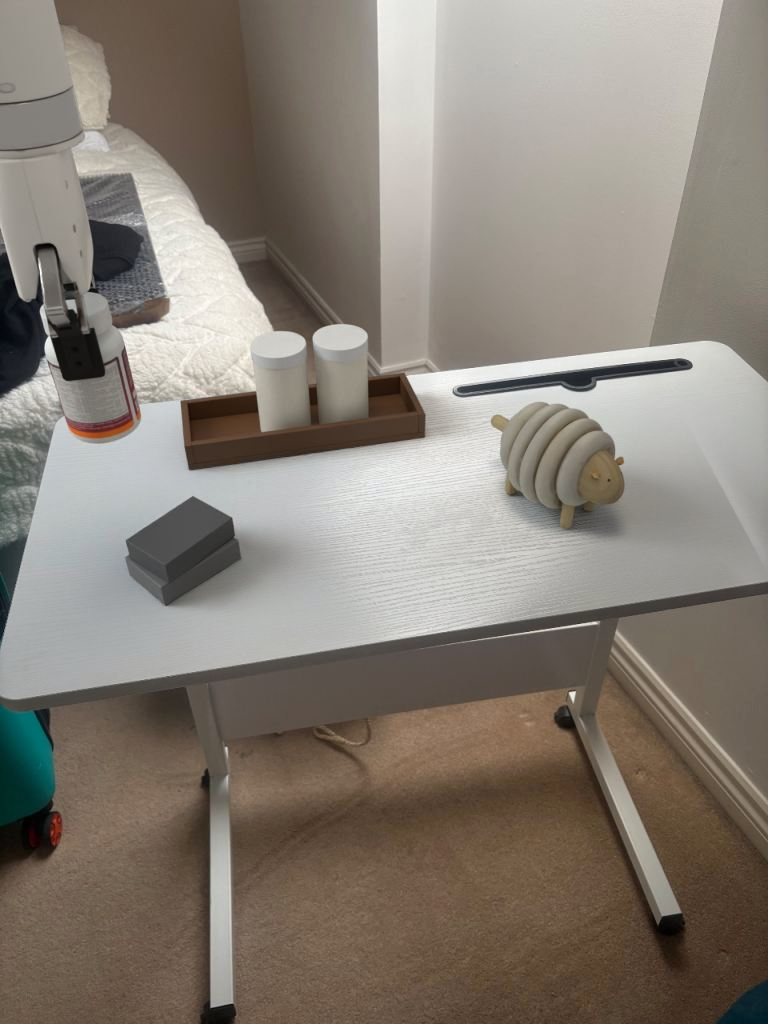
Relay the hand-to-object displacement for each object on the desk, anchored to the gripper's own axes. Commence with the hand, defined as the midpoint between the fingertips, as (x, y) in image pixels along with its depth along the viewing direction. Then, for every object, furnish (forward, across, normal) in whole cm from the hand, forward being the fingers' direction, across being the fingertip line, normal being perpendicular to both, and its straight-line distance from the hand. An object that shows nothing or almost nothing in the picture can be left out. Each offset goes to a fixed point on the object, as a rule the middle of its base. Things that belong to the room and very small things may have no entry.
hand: (86, 354), depth 67 cm
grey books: (+23, +2, +4) cm, 23 cm away
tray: (+23, -19, +19) cm, 35 cm away
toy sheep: (+23, 0, +43) cm, 49 cm away
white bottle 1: (+22, -19, +17) cm, 34 cm away
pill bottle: (+7, 0, 0) cm, 7 cm away
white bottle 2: (+22, -19, +24) cm, 38 cm away
